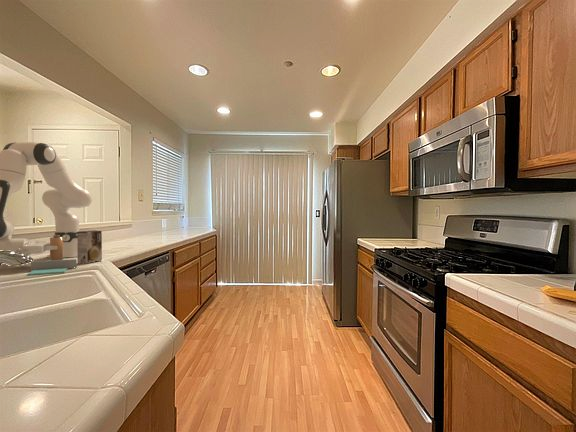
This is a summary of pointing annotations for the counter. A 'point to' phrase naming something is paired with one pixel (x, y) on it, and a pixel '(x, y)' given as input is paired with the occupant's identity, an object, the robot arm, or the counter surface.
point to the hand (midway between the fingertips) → (58, 246)
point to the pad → (48, 271)
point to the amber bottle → (58, 252)
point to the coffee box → (89, 246)
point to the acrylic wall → (53, 264)
